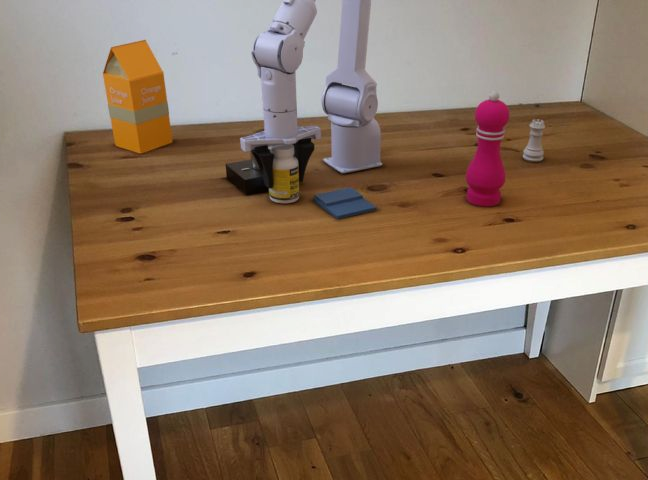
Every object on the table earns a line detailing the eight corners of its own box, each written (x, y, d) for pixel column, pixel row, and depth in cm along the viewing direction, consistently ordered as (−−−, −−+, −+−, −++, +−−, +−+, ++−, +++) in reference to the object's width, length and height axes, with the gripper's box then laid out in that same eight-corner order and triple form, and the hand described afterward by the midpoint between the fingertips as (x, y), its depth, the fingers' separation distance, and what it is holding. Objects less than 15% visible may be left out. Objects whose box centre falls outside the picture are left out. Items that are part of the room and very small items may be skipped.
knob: (247, 164, 144) (246, 144, 142) (267, 161, 146) (266, 141, 144) (256, 171, 142) (255, 151, 139) (276, 168, 144) (275, 147, 141)
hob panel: (278, 168, 151) (278, 153, 150) (300, 184, 145) (299, 168, 143) (226, 178, 146) (225, 162, 144) (246, 195, 140) (244, 179, 138)
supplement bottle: (294, 206, 137) (292, 153, 131) (265, 202, 138) (262, 149, 132) (303, 194, 141) (301, 142, 136) (275, 191, 142) (272, 139, 137)
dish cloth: (351, 192, 143) (351, 186, 142) (376, 210, 137) (376, 203, 136) (313, 201, 139) (312, 194, 138) (337, 219, 133) (337, 212, 132)
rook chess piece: (519, 160, 161) (524, 122, 156) (525, 153, 164) (530, 116, 160) (540, 164, 159) (546, 126, 155) (545, 157, 163) (551, 120, 158)
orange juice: (173, 142, 161) (160, 42, 150) (140, 154, 155) (124, 50, 144) (147, 134, 164) (132, 36, 153) (114, 145, 158) (96, 44, 147)
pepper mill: (506, 196, 145) (519, 88, 133) (497, 210, 139) (510, 99, 128) (469, 189, 146) (479, 83, 135) (459, 203, 141) (469, 93, 129)
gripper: (250, 120, 124) (256, 198, 132) (328, 108, 131) (329, 183, 139) (232, 108, 129) (239, 184, 137) (309, 97, 136) (311, 170, 143)
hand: (283, 183), depth 138 cm, fingers closed on supplement bottle, 5 cm apart
